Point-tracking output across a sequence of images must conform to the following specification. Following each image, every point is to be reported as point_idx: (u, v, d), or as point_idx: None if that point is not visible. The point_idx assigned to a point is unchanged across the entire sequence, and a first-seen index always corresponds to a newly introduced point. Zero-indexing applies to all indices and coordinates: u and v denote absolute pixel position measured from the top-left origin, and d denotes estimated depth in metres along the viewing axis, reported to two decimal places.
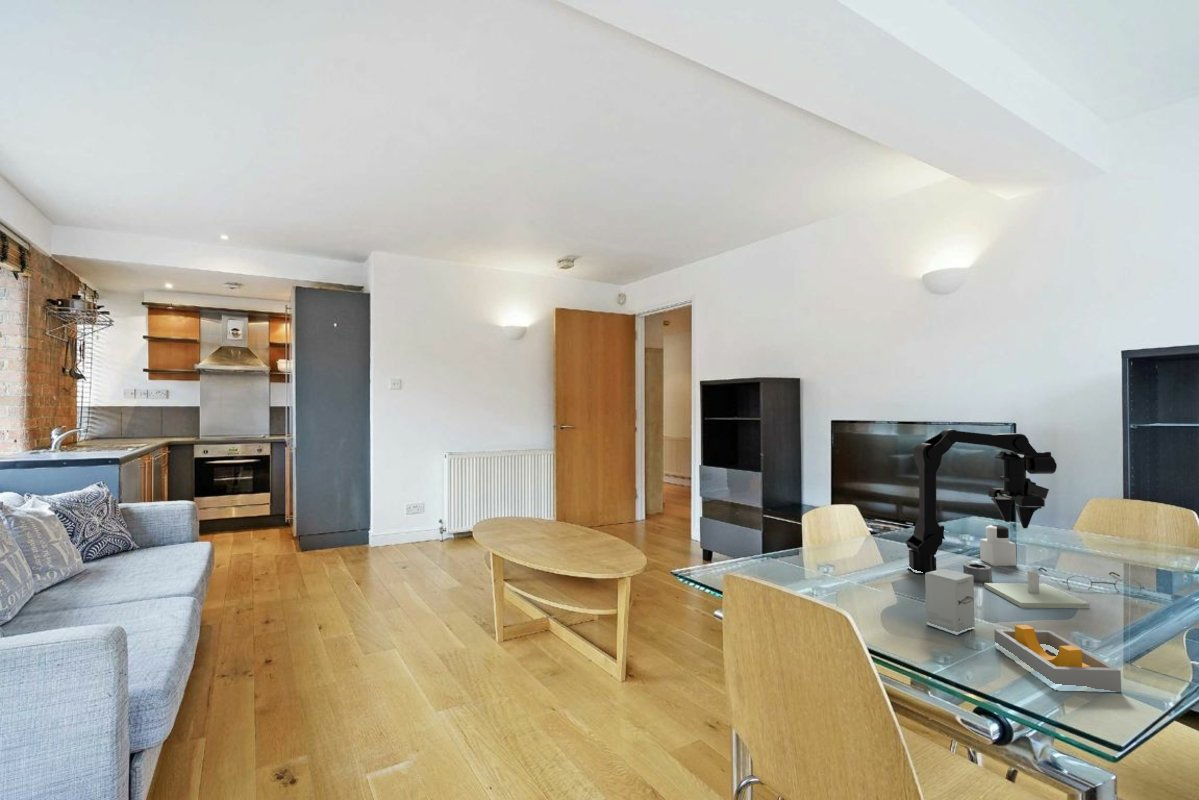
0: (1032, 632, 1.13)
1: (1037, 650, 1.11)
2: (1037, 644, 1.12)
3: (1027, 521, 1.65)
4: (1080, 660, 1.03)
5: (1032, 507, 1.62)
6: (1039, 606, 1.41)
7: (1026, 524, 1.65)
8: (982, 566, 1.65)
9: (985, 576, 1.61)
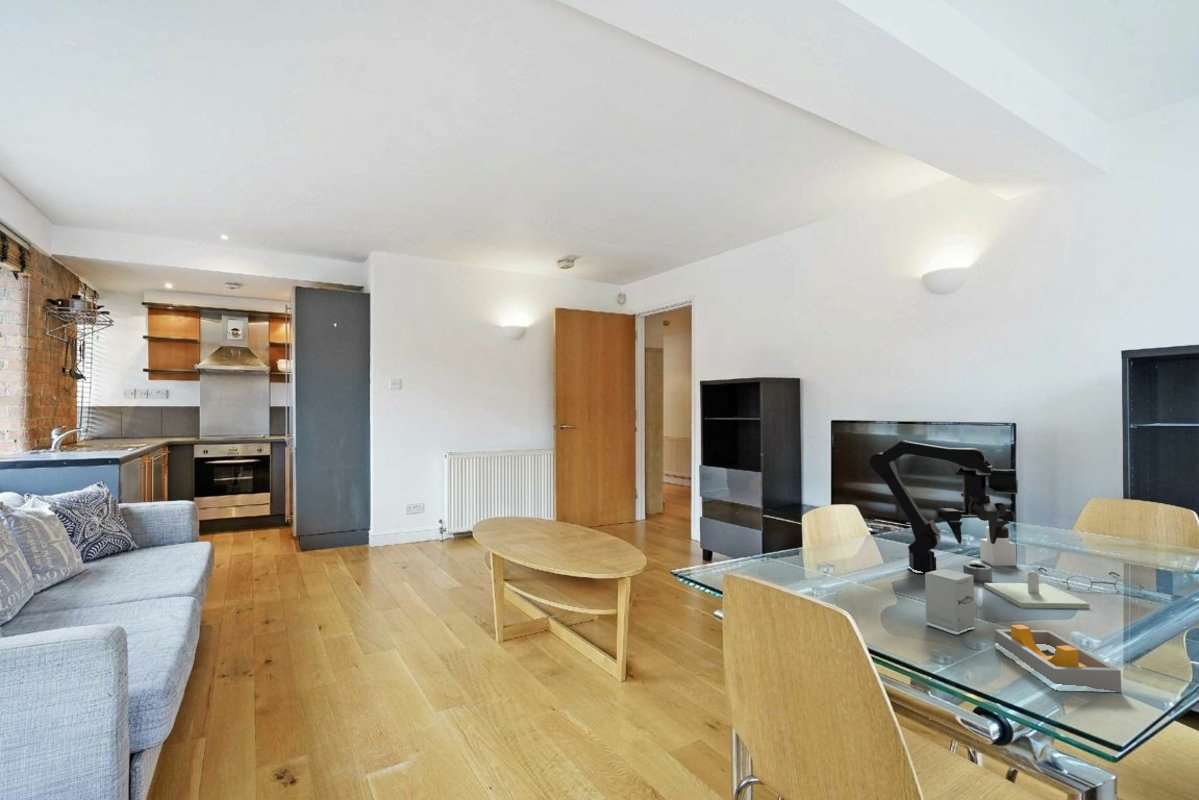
0: (1028, 632, 1.13)
1: (1033, 650, 1.11)
2: (1033, 644, 1.12)
3: (956, 536, 1.65)
4: (1077, 660, 1.03)
5: (947, 520, 1.65)
6: (1039, 606, 1.41)
7: (957, 539, 1.65)
8: (982, 566, 1.65)
9: (985, 576, 1.61)
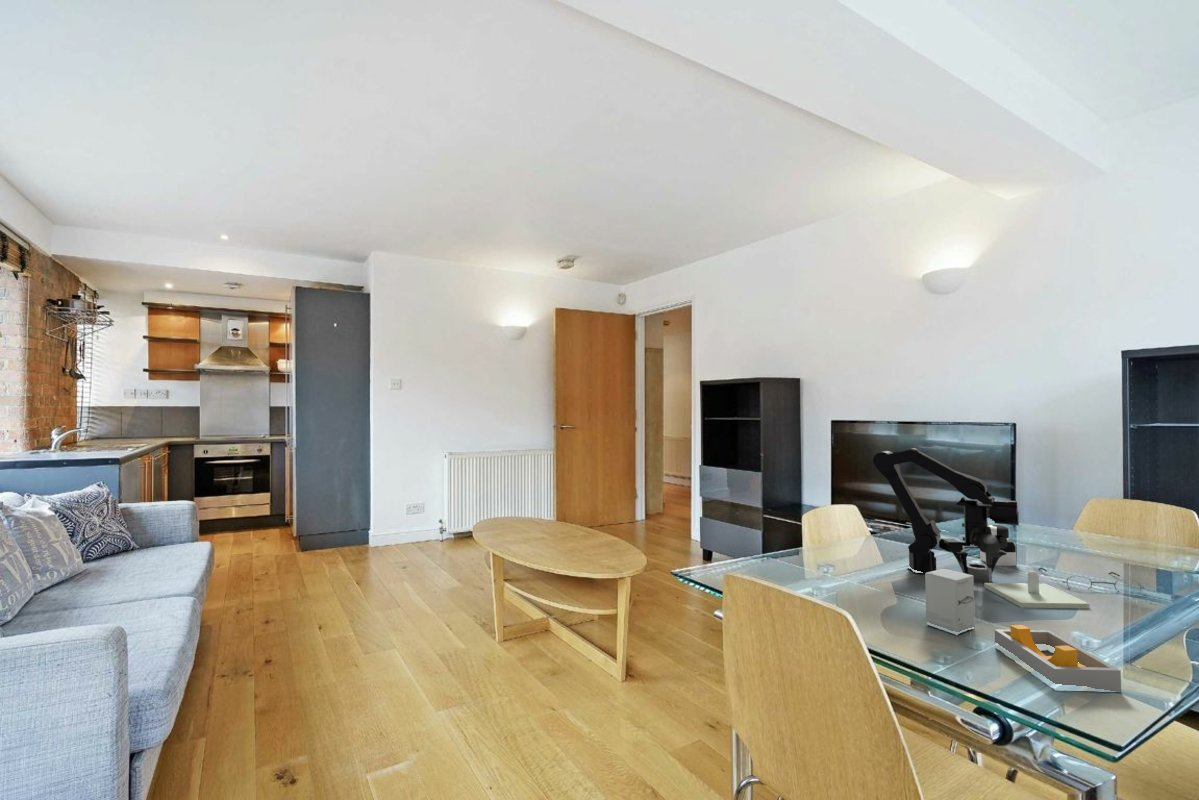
0: (1028, 632, 1.13)
1: (1033, 650, 1.11)
2: (1033, 644, 1.12)
3: (962, 567, 1.64)
4: (1076, 660, 1.03)
5: None
6: (1039, 606, 1.41)
7: (963, 570, 1.64)
8: (982, 566, 1.65)
9: (985, 576, 1.61)
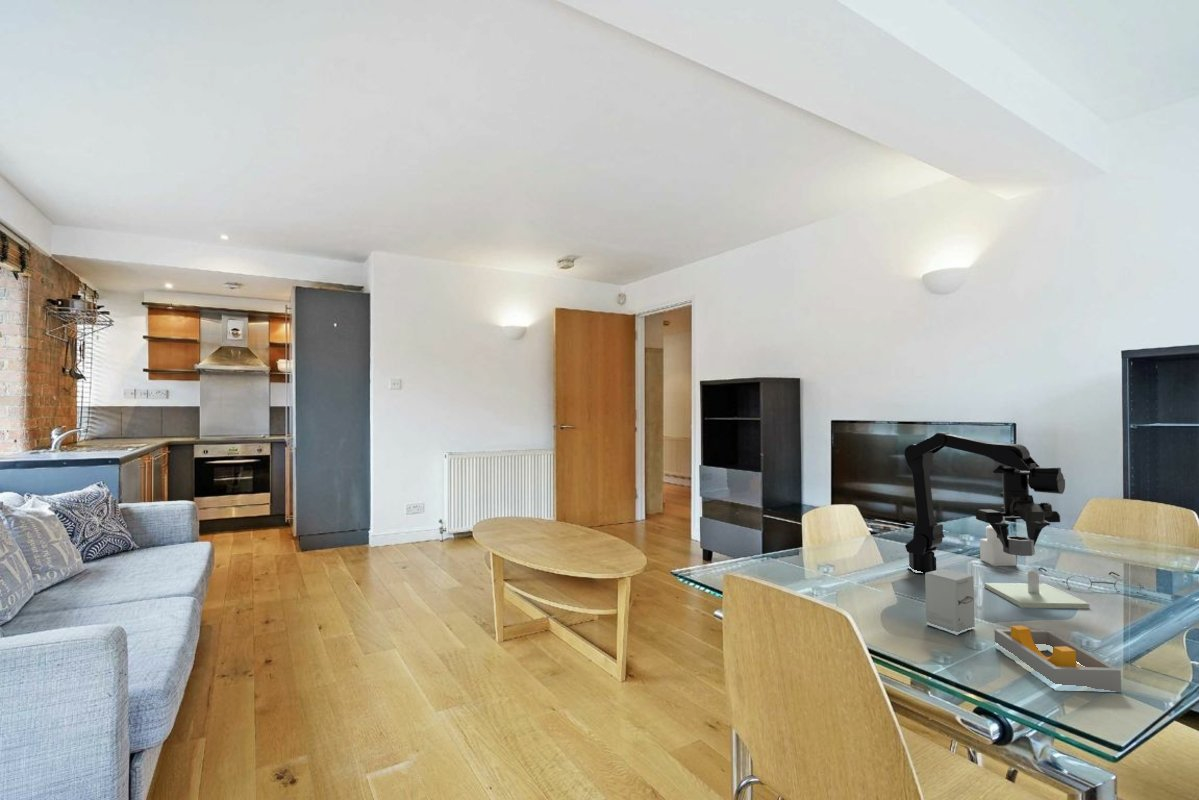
0: (1028, 633, 1.13)
1: None
2: (1033, 645, 1.12)
3: (1002, 539, 1.52)
4: (1074, 661, 1.03)
5: (991, 522, 1.53)
6: (1039, 606, 1.41)
7: (1003, 543, 1.53)
8: (1023, 538, 1.53)
9: (1028, 548, 1.49)
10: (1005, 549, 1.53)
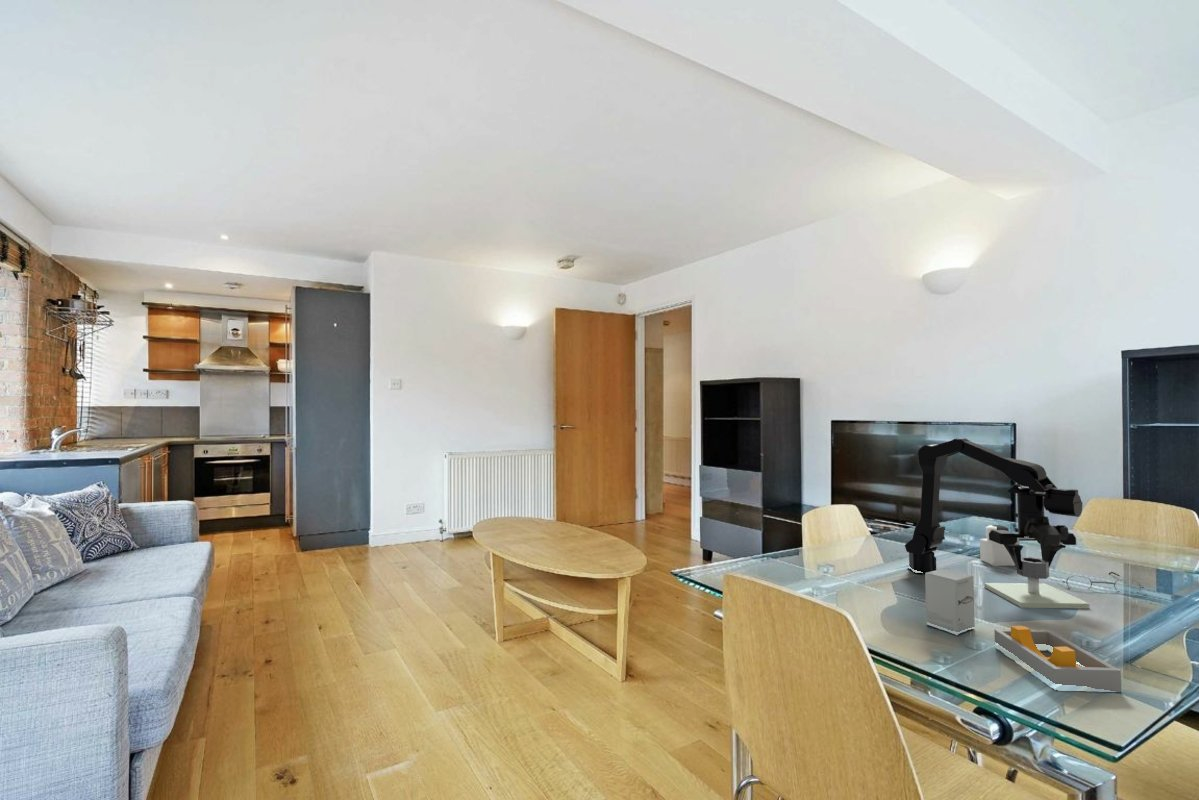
0: (1028, 633, 1.13)
1: None
2: (1033, 645, 1.12)
3: (1016, 561, 1.49)
4: (1074, 661, 1.03)
5: None
6: (1039, 606, 1.41)
7: (1016, 564, 1.49)
8: (1037, 560, 1.49)
9: (1042, 571, 1.45)
10: (1018, 571, 1.49)
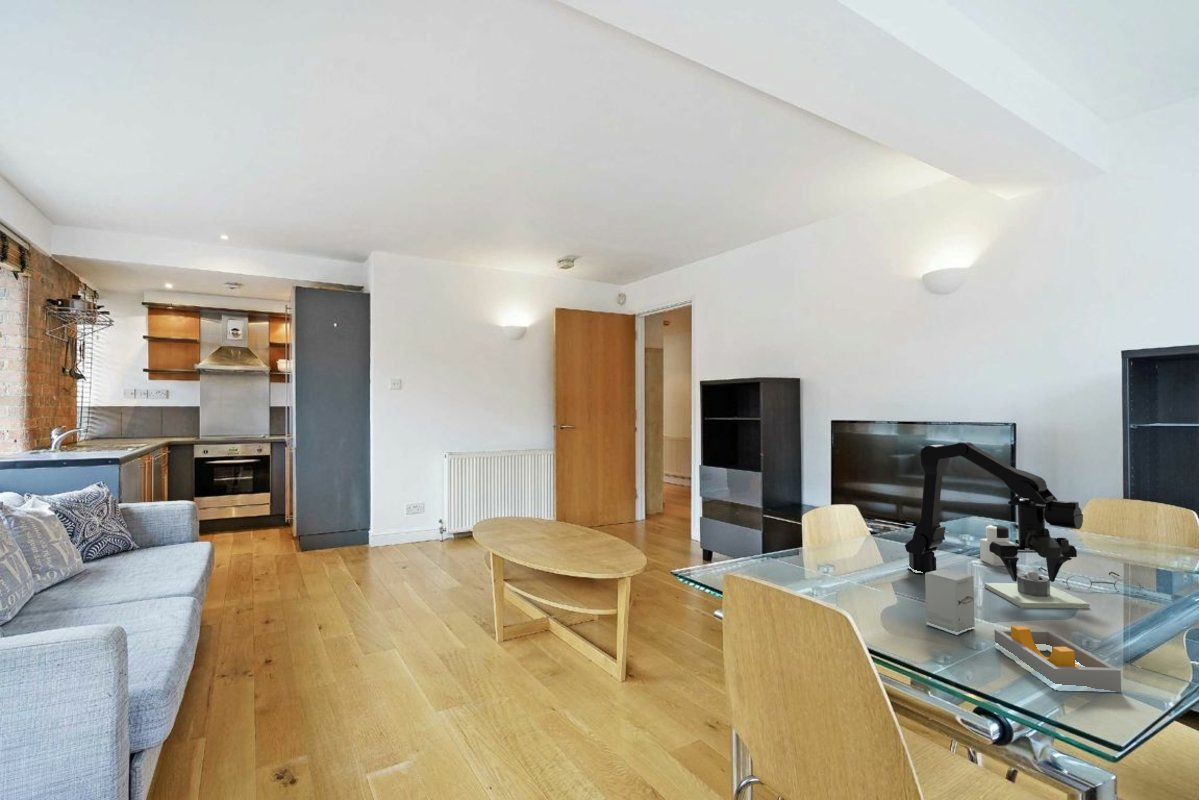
0: (1028, 633, 1.13)
1: None
2: (1033, 645, 1.11)
3: (1011, 573, 1.49)
4: (1073, 661, 1.03)
5: (1001, 556, 1.49)
6: (1039, 606, 1.41)
7: (1012, 576, 1.49)
8: None
9: (1043, 589, 1.45)
10: (1019, 588, 1.49)
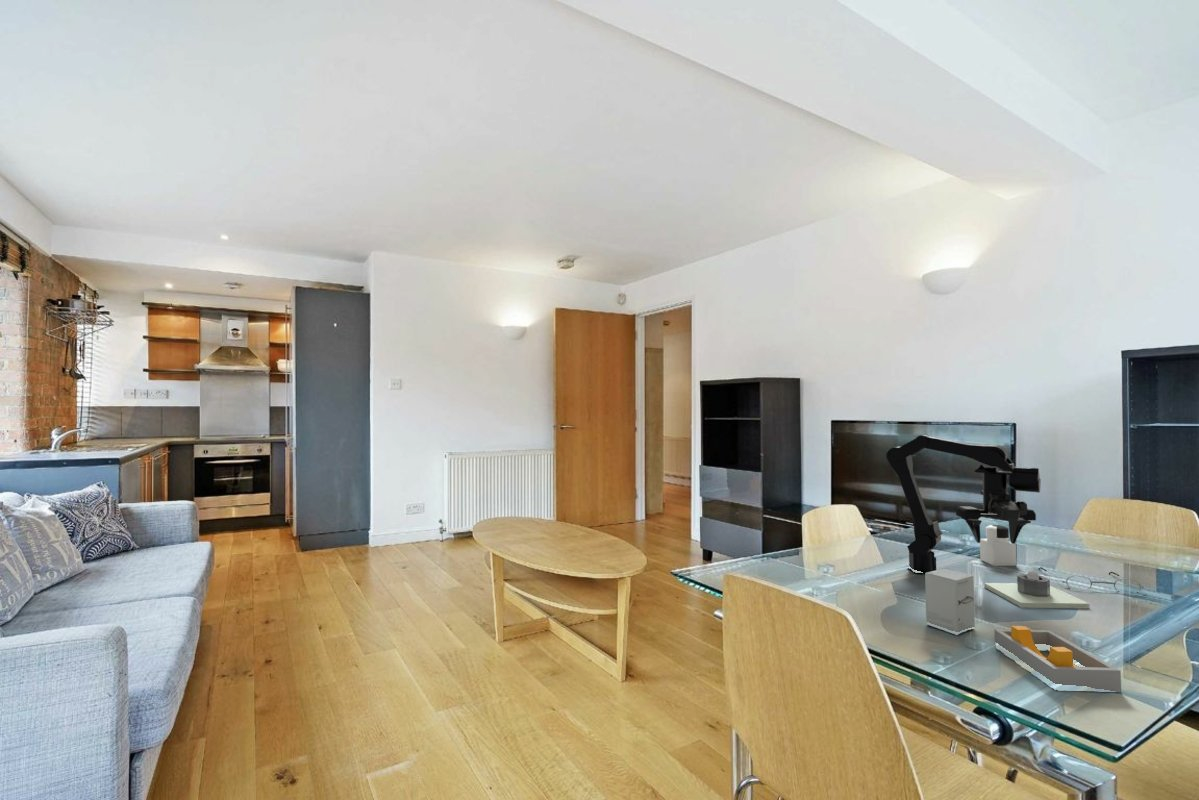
0: (1028, 633, 1.12)
1: None
2: (1033, 645, 1.11)
3: (975, 535, 1.61)
4: (1071, 662, 1.02)
5: (965, 519, 1.61)
6: (1039, 606, 1.41)
7: (976, 538, 1.61)
8: None
9: (1043, 589, 1.45)
10: (1019, 588, 1.49)
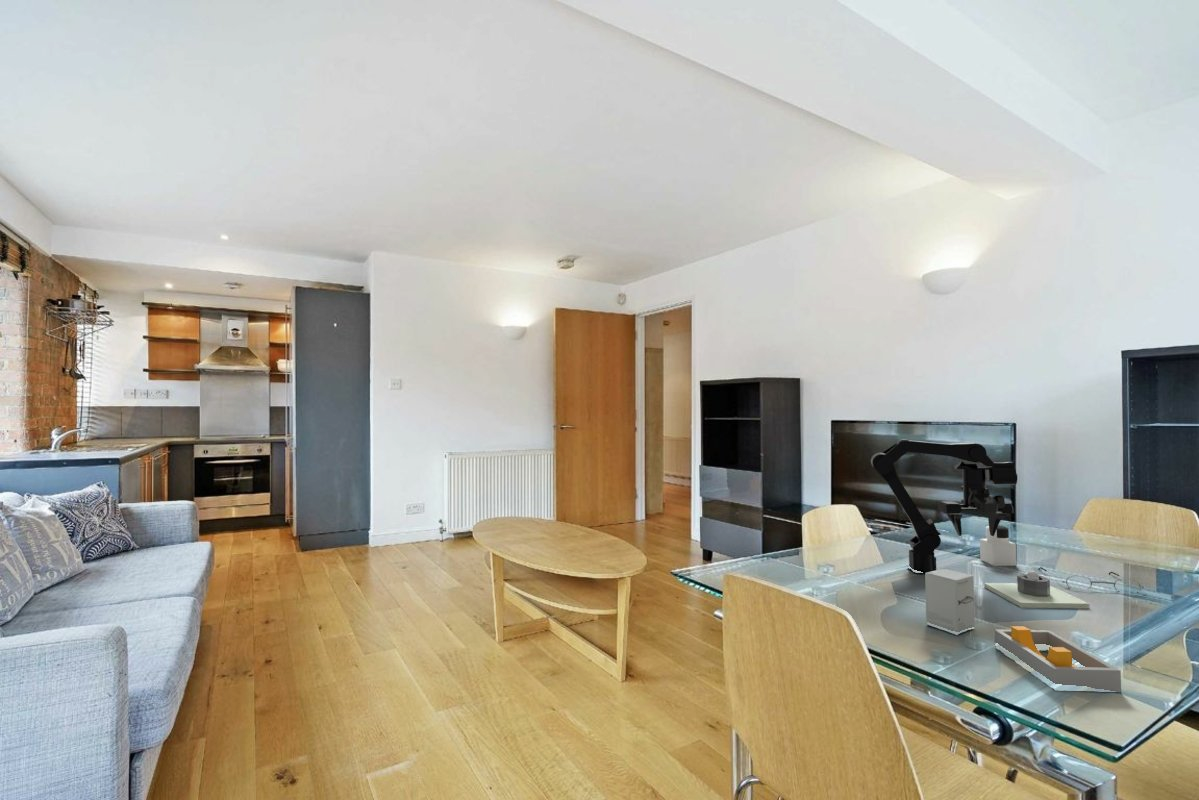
0: (1028, 633, 1.12)
1: None
2: (1032, 645, 1.11)
3: (957, 528, 1.68)
4: (1070, 662, 1.02)
5: (947, 513, 1.69)
6: (1039, 606, 1.41)
7: (957, 531, 1.68)
8: None
9: (1043, 589, 1.45)
10: (1019, 588, 1.49)
